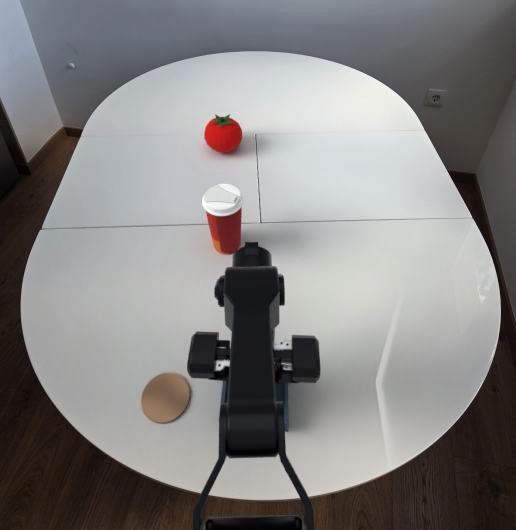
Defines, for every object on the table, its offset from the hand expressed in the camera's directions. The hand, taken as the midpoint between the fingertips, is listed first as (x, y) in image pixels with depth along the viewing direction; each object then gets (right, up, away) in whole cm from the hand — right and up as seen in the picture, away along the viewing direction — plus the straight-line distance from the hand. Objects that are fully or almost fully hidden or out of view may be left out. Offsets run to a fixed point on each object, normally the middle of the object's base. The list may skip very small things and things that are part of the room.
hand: (255, 380), depth 68 cm
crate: (0, -4, +4) cm, 6 cm away
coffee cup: (-7, +18, +28) cm, 34 cm away
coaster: (-15, -5, +4) cm, 16 cm away
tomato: (-9, +41, +53) cm, 67 cm away
